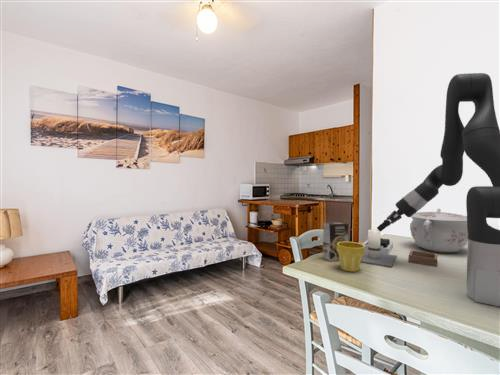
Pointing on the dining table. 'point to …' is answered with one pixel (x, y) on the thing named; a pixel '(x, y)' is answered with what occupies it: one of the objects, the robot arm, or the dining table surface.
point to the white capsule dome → (374, 244)
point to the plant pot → (350, 255)
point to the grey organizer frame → (383, 250)
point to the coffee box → (333, 239)
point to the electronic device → (384, 242)
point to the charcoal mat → (383, 261)
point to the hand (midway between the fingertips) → (380, 228)
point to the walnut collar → (423, 258)
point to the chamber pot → (439, 231)
